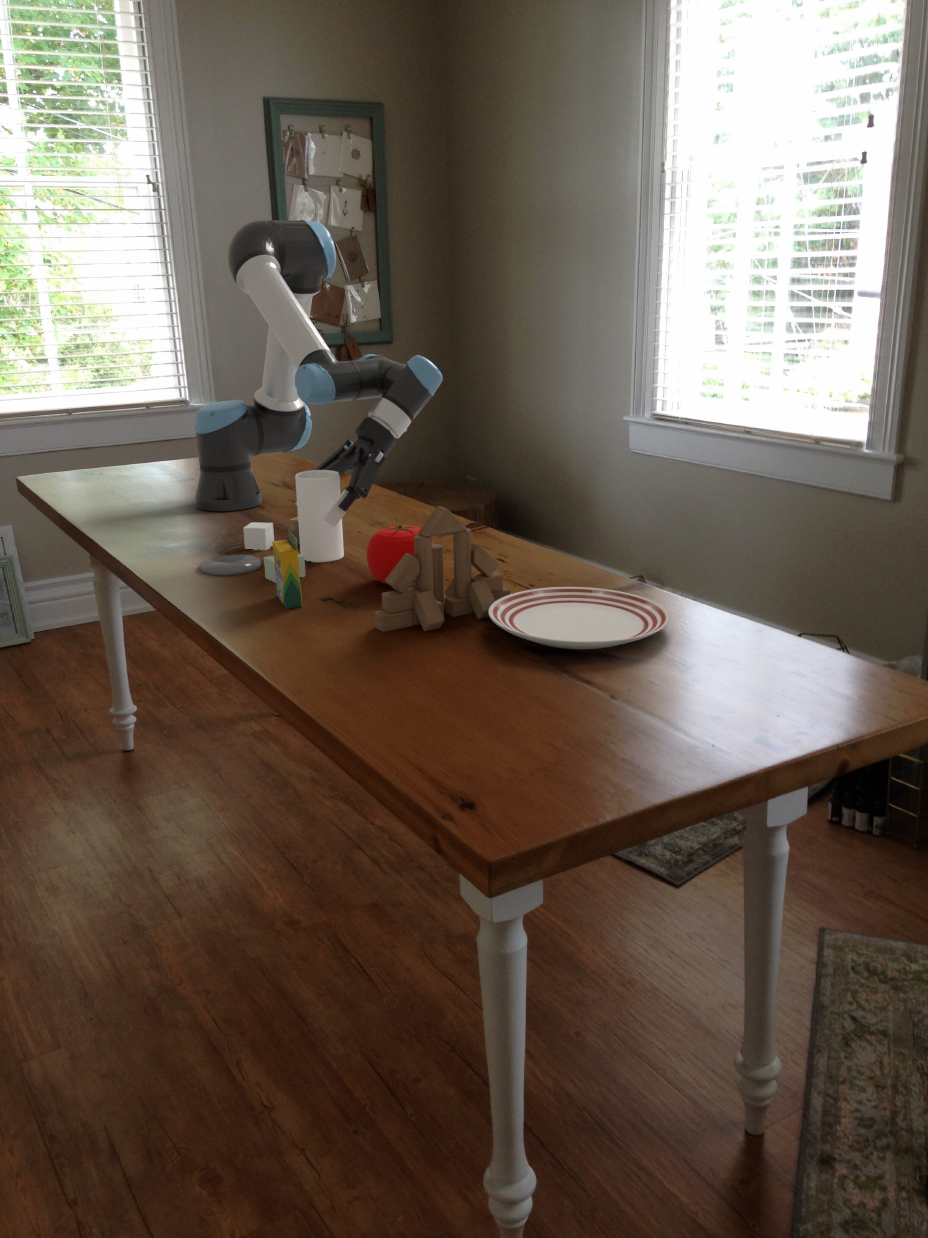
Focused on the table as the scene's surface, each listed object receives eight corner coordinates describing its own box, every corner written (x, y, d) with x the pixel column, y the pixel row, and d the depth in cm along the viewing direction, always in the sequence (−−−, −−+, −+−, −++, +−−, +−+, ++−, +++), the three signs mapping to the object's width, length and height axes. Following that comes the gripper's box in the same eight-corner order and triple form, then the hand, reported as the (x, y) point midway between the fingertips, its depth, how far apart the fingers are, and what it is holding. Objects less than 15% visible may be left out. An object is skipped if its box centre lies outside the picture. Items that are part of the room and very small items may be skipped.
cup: (347, 550, 204) (343, 469, 198) (338, 562, 196) (334, 478, 191) (306, 550, 205) (301, 469, 199) (296, 562, 197) (290, 478, 192)
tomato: (375, 595, 177) (372, 535, 173) (362, 576, 187) (359, 519, 184) (443, 588, 180) (441, 529, 176) (427, 570, 190) (425, 514, 187)
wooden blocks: (397, 642, 155) (392, 526, 150) (360, 620, 165) (355, 510, 159) (534, 612, 168) (535, 503, 162) (492, 592, 178) (491, 489, 172)
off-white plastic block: (245, 549, 206) (243, 527, 204) (253, 544, 210) (251, 522, 209) (266, 550, 205) (265, 528, 204) (274, 544, 209) (272, 522, 208)
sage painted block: (265, 578, 187) (263, 557, 186) (295, 572, 191) (293, 551, 190) (275, 583, 184) (274, 562, 183) (305, 577, 188) (304, 556, 186)
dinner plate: (555, 592, 178) (555, 573, 177) (701, 624, 161) (702, 603, 160) (451, 636, 158) (451, 615, 157) (606, 678, 141) (607, 655, 140)
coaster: (189, 567, 194) (188, 563, 194) (239, 555, 202) (239, 551, 201) (222, 579, 187) (221, 574, 187) (272, 566, 194) (272, 562, 194)
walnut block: (291, 543, 210) (289, 519, 208) (304, 537, 214) (303, 514, 212) (312, 546, 208) (310, 521, 206) (325, 540, 212) (324, 516, 210)
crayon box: (276, 596, 177) (270, 530, 173) (293, 594, 178) (288, 528, 174) (284, 609, 171) (279, 540, 167) (302, 607, 171) (297, 538, 168)
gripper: (425, 449, 191) (355, 540, 189) (367, 432, 211) (303, 514, 209) (399, 423, 186) (326, 516, 184) (341, 407, 207) (276, 491, 205)
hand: (314, 515), depth 197 cm, fingers open, 13 cm apart
